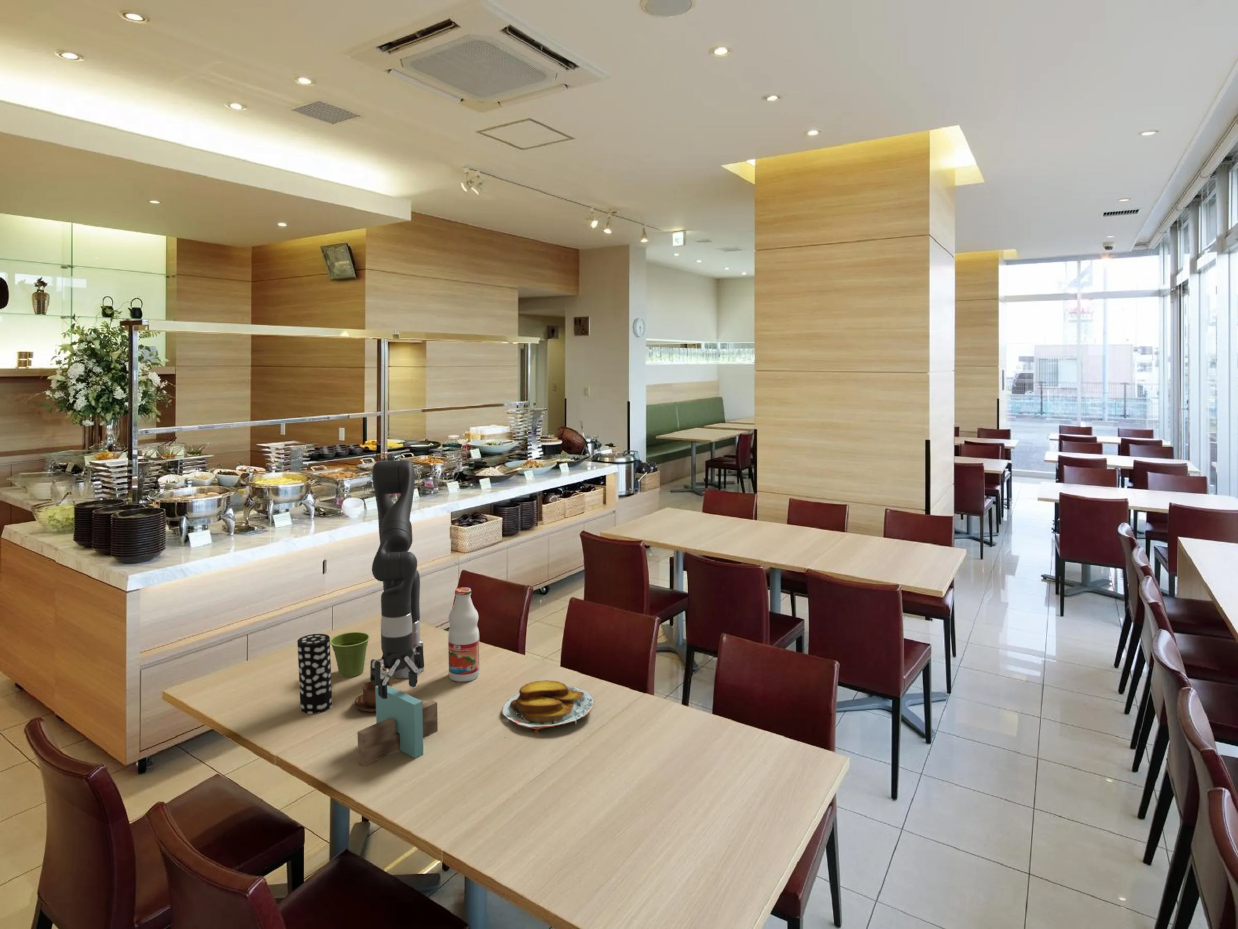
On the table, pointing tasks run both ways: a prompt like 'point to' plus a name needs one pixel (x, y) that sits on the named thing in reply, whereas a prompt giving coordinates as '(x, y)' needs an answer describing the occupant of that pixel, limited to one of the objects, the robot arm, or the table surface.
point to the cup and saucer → (367, 698)
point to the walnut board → (391, 735)
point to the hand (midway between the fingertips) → (398, 692)
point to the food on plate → (548, 704)
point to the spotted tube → (314, 673)
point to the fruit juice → (463, 638)
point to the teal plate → (403, 718)
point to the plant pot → (350, 652)
